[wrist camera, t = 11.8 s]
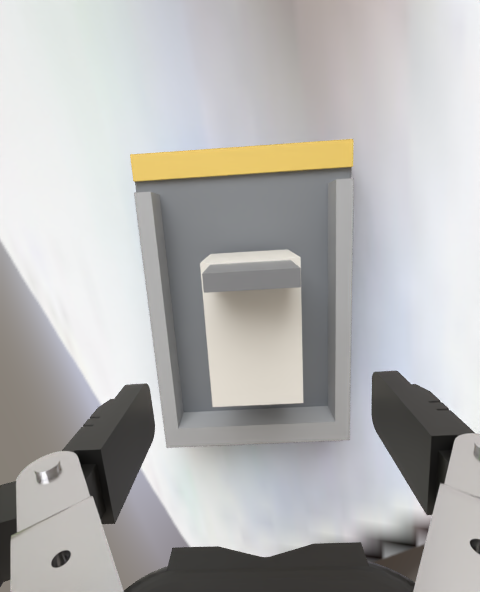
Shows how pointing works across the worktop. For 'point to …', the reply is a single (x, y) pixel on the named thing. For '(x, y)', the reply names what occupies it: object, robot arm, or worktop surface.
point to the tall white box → (253, 327)
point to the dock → (245, 238)
